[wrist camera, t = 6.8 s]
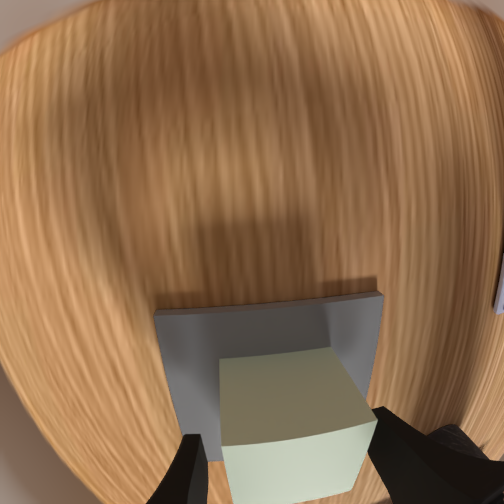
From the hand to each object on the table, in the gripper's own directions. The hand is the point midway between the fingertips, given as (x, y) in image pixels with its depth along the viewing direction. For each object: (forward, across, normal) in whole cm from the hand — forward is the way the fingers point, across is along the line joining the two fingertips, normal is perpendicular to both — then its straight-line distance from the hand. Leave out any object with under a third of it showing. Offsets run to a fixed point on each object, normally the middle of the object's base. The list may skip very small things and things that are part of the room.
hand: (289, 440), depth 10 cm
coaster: (+3, 0, 0) cm, 4 cm away
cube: (+3, 0, 0) cm, 3 cm away
